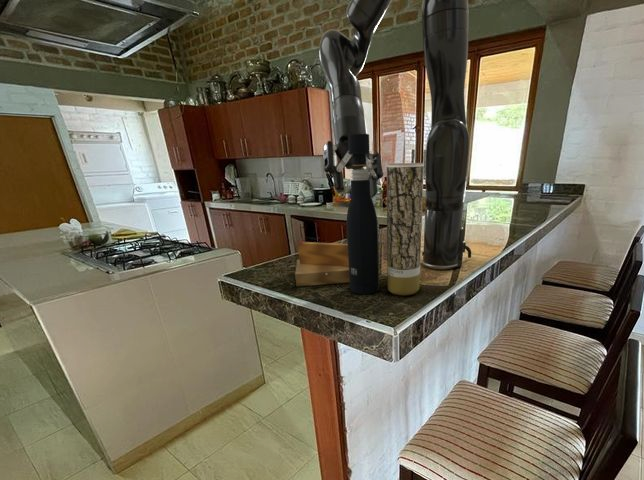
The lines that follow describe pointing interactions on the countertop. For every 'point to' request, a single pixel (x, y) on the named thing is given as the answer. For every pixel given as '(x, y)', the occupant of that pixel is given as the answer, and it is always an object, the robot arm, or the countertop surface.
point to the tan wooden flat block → (323, 253)
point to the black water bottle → (362, 223)
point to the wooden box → (320, 274)
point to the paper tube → (404, 226)
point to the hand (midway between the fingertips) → (357, 194)
